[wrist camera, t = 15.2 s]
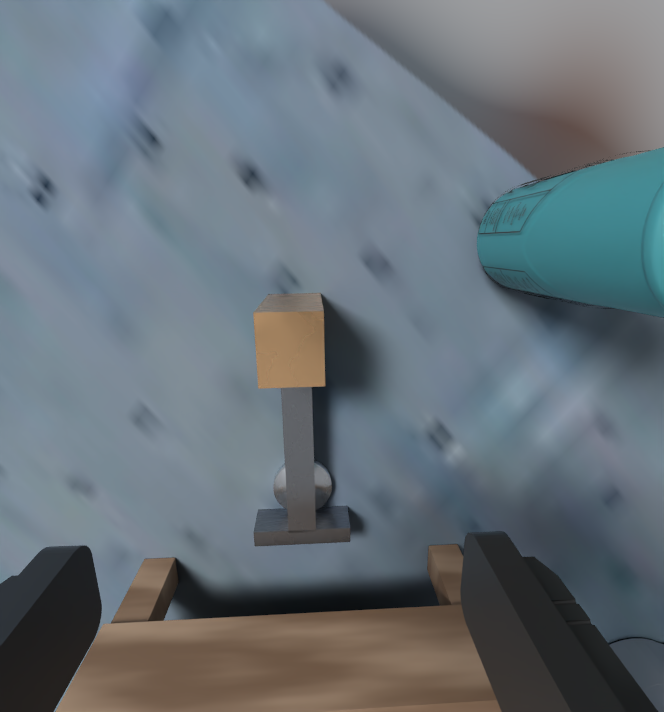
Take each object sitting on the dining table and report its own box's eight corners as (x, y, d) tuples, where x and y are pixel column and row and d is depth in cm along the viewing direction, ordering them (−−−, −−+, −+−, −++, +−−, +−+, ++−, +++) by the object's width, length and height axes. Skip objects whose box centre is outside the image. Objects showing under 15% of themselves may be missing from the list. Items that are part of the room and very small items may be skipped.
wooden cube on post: (242, 294, 27) (217, 313, 20) (346, 292, 28) (358, 310, 20) (259, 522, 32) (244, 603, 25) (347, 518, 33) (357, 597, 25)
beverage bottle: (487, 305, 28) (859, 436, 9) (446, 217, 27) (799, 153, 7) (573, 257, 28) (1165, 289, 9) (537, 164, 26) (1176, -56, 7)
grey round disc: (326, 451, 31) (327, 458, 30) (334, 500, 32) (335, 508, 31) (269, 460, 31) (268, 467, 30) (280, 508, 32) (279, 517, 31)
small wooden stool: (448, 685, 38) (509, 879, 26) (165, 703, 37) (98, 914, 25) (461, 541, 34) (539, 697, 22) (140, 556, 32) (45, 729, 21)
